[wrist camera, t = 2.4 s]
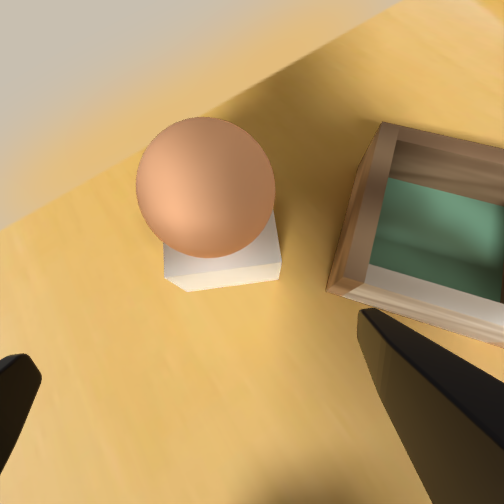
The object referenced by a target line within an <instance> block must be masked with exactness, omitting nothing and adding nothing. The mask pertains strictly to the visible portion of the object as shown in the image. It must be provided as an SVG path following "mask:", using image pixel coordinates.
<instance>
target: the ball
mask: <svg viewBox="0 0 504 504" xmlns="http://www.w3.org/2000/svg"><path fill="white" fill-rule="evenodd" d="M136 194H137V199H138V204H139V207H140V210H141V213H142V215H143V217H144V219H145V221H146V223H147V225H148V226H149V227H150V229H151V230H152V231H153V233H154V234H155V235H156V236H157V237H158V238H159V239H160V240H161V241H163V242H164V243H165V244H167V245H168V246H169V247H171V248H173V249H174V250H176V251H178V252H181V253H183V254H186V255H189V256H193V257H198V258H217V257H223V256H227V255H230V254H233V253H235V252H237V251H239V250H241V249H243V248H245V247H246V246H247V245H249V244H250V243H251V242H253V241H254V240H255V239H256V238H257V237H258V236H259V234H260V233H261V232H262V231H263V229H264V227H265V226H266V224H267V222H268V220H269V218H270V216H271V213H272V210H273V206H274V201H275V179H274V174H273V170H272V167H271V164H270V161H269V159H268V157H267V156H266V154H265V152H264V150H263V149H262V147H261V146H260V145H259V143H258V142H257V141H256V140H255V139H254V138H253V137H252V136H251V135H250V134H248V133H247V132H246V131H245V130H243V129H241V128H240V127H238V126H236V125H234V124H232V123H230V122H228V121H225V120H221V119H216V118H210V117H195V118H189V119H185V120H182V121H179V122H177V123H174V124H172V125H171V126H169V127H167V128H166V129H164V130H163V131H162V132H161V133H159V134H158V135H157V136H156V137H155V138H154V139H153V140H152V141H151V143H150V144H149V145H148V147H147V148H146V150H145V152H144V153H143V156H142V158H141V161H140V163H139V167H138V170H137V177H136Z"/></svg>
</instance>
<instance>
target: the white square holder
mask: <svg viewBox="0 0 504 504" xmlns="http://www.w3.org/2000/svg"><path fill="white" fill-rule="evenodd" d="M163 249H164V278H165V279H167V280H169V281H170V282H172V283H174V284H175V285H177V286H178V287H180V288H182V289H183V290H185V291H186V292H190V291H198V290H205V289H213V288H220V287H227V286H235V285H242V284H250V283H257V282H265V281H272V280H278V279H279V274H280V269H281V265H282V259H281V253H280V247H279V241H278V235H277V229H276V223H275V217H274V211H273V210H272V213H271V216H270V218H269V220H268V222H267V224H266V226H265V227H264V229H263V231H262V232H261V233H260V234H259V236H258V237H257V238H256V239H255V240H254V241H253V242H251V243H250V244H249V245H247V246H246V247H245V248H243V249H241V250H239V251H237V252H235V253H233V254H230V255H227V256H223V257H217V258H198V257H193V256H189V255H186V254H183V253H181V252H178V251H176V250H174V249H173V248H171V247H169V246H168V245H167V244H165V243H164V242H163Z"/></svg>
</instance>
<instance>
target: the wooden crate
mask: <svg viewBox="0 0 504 504" xmlns="http://www.w3.org/2000/svg"><path fill="white" fill-rule="evenodd" d="M326 292H329V293H332V294H335V295H339V296H342V297H345V298H348V299H351V300H354V301H357V302H361V303H364V304H367V305H370V306H373V307H376V308H379V309H382V310H386V311H389V312H392V313H395V314H398V315H401V316H404V317H408V318H411V319H414V320H417V321H420V322H423V323H426V324H430V325H433V326H436V327H439V328H442V329H445V330H448V331H451V332H455V333H458V334H461V335H464V336H467V337H470V338H473V339H477V340H480V341H483V342H486V343H489V344H492V345H495V346H498V347H502V348H504V149H501V148H497V147H492V146H488V145H483V144H479V143H475V142H470V141H466V140H461V139H457V138H452V137H448V136H444V135H439V134H435V133H430V132H426V131H421V130H417V129H413V128H408V127H404V126H399V125H395V124H390V123H386V122H382V123H381V125H380V126H379V128H378V130H377V132H376V134H375V136H374V138H373V140H372V141H371V143H370V145H369V147H368V149H367V151H366V153H365V155H364V156H363V158H362V160H361V162H360V164H359V166H358V170H357V174H356V178H355V182H354V185H353V189H352V193H351V197H350V200H349V204H348V208H347V212H346V216H345V219H344V223H343V227H342V231H341V234H340V238H339V242H338V246H337V250H336V253H335V257H334V261H333V265H332V268H331V272H330V276H329V280H328V284H327V287H326Z"/></svg>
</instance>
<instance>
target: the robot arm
mask: <svg viewBox="0 0 504 504" xmlns="http://www.w3.org/2000/svg"><path fill="white" fill-rule="evenodd" d="M357 338H358V342H359V344H360V347H361V350H362V352H363V355H364V358H365V360H366V363H367V366H368V368H369V371H370V374H371V376H372V379H373V382H374V384H375V387H376V389H377V392H378V394H379V397H380V399H381V401H382V403H383V405H384V407H385V409H386V411H387V413H388V415H389V417H390V419H391V421H392V423H393V425H394V427H395V429H396V431H397V433H398V435H399V437H400V439H401V441H402V443H403V445H404V447H405V449H406V451H407V453H408V455H409V457H410V459H411V461H412V463H413V465H414V467H415V469H416V471H417V473H418V475H419V477H420V479H421V481H422V483H423V485H424V487H425V489H426V491H427V493H428V495H429V497H430V499H431V501H432V503H433V504H504V383H503V382H501V381H500V380H498V379H496V378H495V377H493V376H491V375H489V374H488V373H486V372H484V371H483V370H481V369H479V368H477V367H476V366H474V365H472V364H471V363H469V362H467V361H465V360H464V359H462V358H460V357H459V356H457V355H455V354H453V353H452V352H450V351H448V350H447V349H445V348H443V347H442V346H440V345H438V344H436V343H435V342H433V341H431V340H430V339H428V338H426V337H424V336H423V335H421V334H419V333H418V332H416V331H414V330H412V329H411V328H409V327H407V326H406V325H404V324H402V323H400V322H399V321H397V320H395V319H394V318H392V317H390V316H388V315H387V314H385V313H383V312H382V311H380V310H378V309H376V308H368V309H361V310H360V311H359V313H358V324H357ZM41 380H42V375H41V373H40V371H39V370H38V368H37V367H36V365H35V364H34V362H33V361H32V359H31V358H30V356H29V355H27V354H24V353H22V354H14V355H9V356H6V357H5V358H3V359H1V360H0V474H1V472H2V470H3V469H4V467H5V465H6V463H7V461H8V459H9V457H10V455H11V453H12V451H13V449H14V447H15V444H16V442H17V440H18V438H19V435H20V433H21V431H22V428H23V426H24V423H25V421H26V418H27V416H28V414H29V411H30V409H31V406H32V404H33V401H34V399H35V396H36V394H37V392H38V389H39V387H40V384H41Z"/></svg>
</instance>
